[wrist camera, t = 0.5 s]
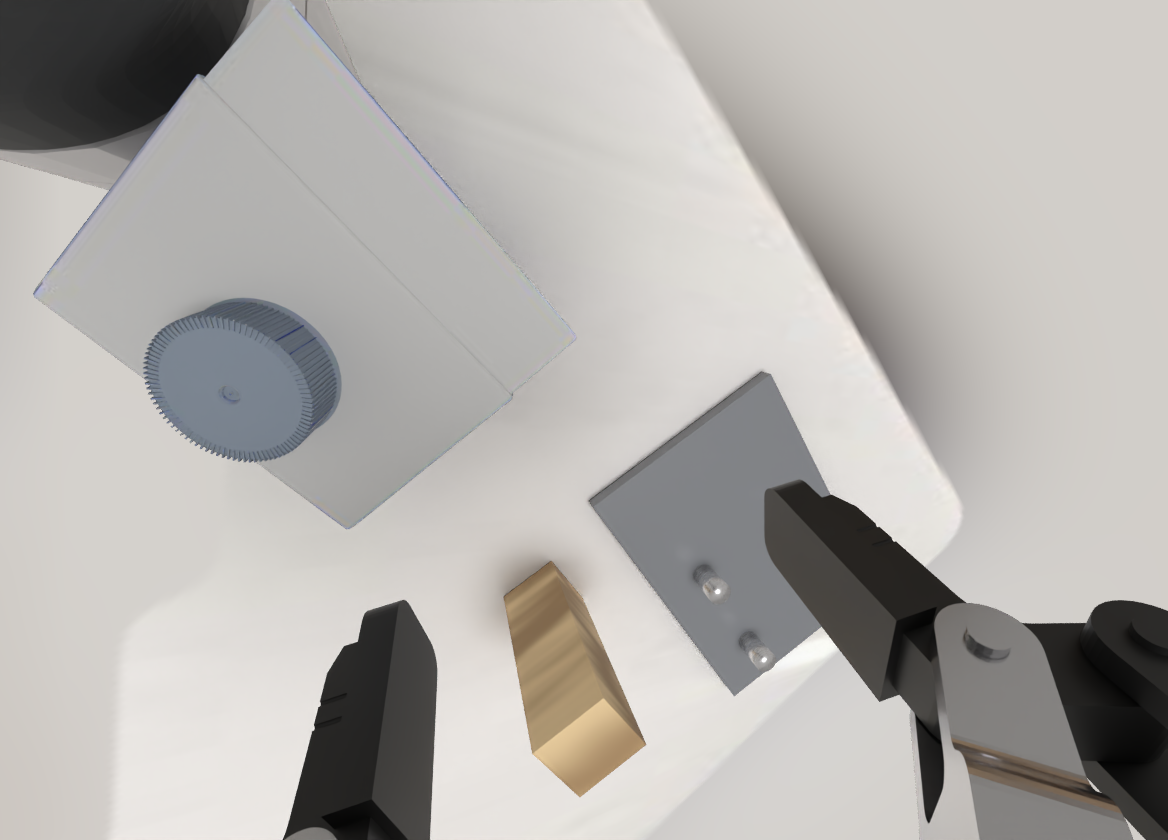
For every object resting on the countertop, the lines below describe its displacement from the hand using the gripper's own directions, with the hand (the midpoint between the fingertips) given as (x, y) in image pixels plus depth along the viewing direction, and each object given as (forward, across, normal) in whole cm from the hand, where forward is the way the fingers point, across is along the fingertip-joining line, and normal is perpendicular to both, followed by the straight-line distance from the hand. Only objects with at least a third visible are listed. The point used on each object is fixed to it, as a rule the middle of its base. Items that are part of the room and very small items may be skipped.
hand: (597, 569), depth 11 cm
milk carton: (+21, +6, -2) cm, 22 cm away
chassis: (+17, -12, +21) cm, 30 cm away
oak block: (+16, +3, +19) cm, 25 cm away
